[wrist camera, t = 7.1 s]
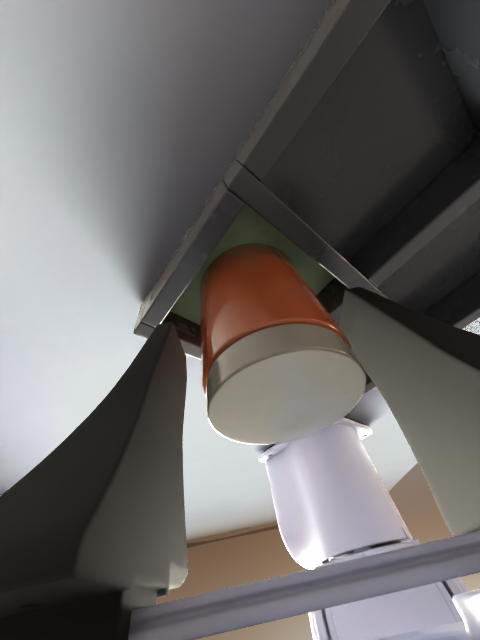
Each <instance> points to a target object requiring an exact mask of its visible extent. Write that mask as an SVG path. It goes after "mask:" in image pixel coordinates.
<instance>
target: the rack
mask: <svg viewBox="0 0 480 640" xmlns="http://www.w3.org/2000/svg"><path fill="white" fill-rule="evenodd" d="M244 244H265V245H269V246H272V247H275V248H277V249H279V250H281V251H282V252H284V253H285V254H286V255H287V256H288V257H289V258H290V259H291V260H292V262H293V263H294V264H295V266H296V267H297V269H298V270H299V271H300V273H301V274H302V276H303V277H304V278H305V280H306V281H307V282H308V284H309V285H310V287H311V288H312V289H313V291H314V292H315V294H316V295H317V296H318V298H319V299H320V300H321V302H322V303H323V305H324V306H325V307H326V309H327V310H328V312H329V313H330V314H331V316H332V317H333V319H334V320H335V321H336V323H337V324H338V325H339V322H340V316H341V311H342V305H343V299H344V294H345V289H350V288H355V287H362V288H365V289H367V290H369V291H372V292H374V293H376V294H378V295H381V296H383V297H385V298H387V299H389V300H392V301H394V302H396V303H398V304H400V305H403V306H405V307H407V308H409V309H412V310H414V311H416V312H418V313H421V314H423V315H426V316H428V317H430V318H433V319H435V320H438V321H441V322H443V323H446V324H448V325H451V326H454V327H456V328H459V329H462V328H464V327H465V326H467V325H468V324H470V323H471V322H473V321H474V320H476V319H477V318H479V317H480V0H333V1H332V3H331V5H330V6H329V8H328V9H327V11H326V13H325V14H324V16H323V17H322V19H321V21H320V22H319V24H318V25H317V27H316V28H315V30H314V32H313V33H312V35H311V36H310V38H309V40H308V41H307V43H306V44H305V46H304V48H303V49H302V51H301V52H300V54H299V55H298V57H297V59H296V60H295V62H294V63H293V65H292V67H291V68H290V70H289V71H288V73H287V75H286V76H285V78H284V79H283V81H282V82H281V84H280V86H279V87H278V89H277V90H276V92H275V94H274V95H273V97H272V98H271V100H270V102H269V103H268V105H267V106H266V108H265V109H264V111H263V113H262V114H261V116H260V117H259V119H258V121H257V122H256V124H255V125H254V127H253V129H252V130H251V132H250V133H249V135H248V136H247V138H246V140H245V141H244V143H243V144H242V146H241V148H240V149H239V151H238V152H237V154H236V156H235V157H234V159H233V160H232V162H231V163H230V165H229V167H228V168H227V170H226V171H225V173H224V175H223V176H222V178H221V179H220V181H219V183H218V184H217V186H216V187H215V189H214V190H213V192H212V194H211V195H210V197H209V198H208V200H207V202H206V203H205V205H204V206H203V208H202V210H201V211H200V213H199V214H198V216H197V218H196V219H195V221H194V222H193V224H192V225H191V227H190V229H189V230H188V232H187V233H186V235H185V237H184V238H183V240H182V241H181V243H180V245H179V246H178V248H177V249H176V251H175V252H174V254H173V256H172V257H171V259H170V260H169V262H168V264H167V265H166V267H165V268H164V270H163V272H162V273H161V275H160V276H159V278H158V279H157V281H156V283H155V284H154V286H153V287H152V289H151V291H150V292H149V294H148V295H147V297H146V299H145V300H144V302H143V303H142V305H141V307H140V311H139V315H138V318H137V322H136V325H135V328H134V334H136V335H139V336H141V337H144V338H146V339H148V338H149V336H150V335H151V333H152V332H153V330H154V329H155V327H156V326H157V324H162V323H168V322H173V324H174V327H175V329H176V332H177V335H178V337H179V340H180V342H181V345H182V348H183V350H184V353H185V354H187V355H190V356H192V357H195V358H197V359H200V360H202V359H201V327H200V295H199V289H200V283H201V279H202V277H203V274H204V272H205V271H206V269H207V267H208V266H209V265H210V264H211V262H212V261H213V260H214V259H216V258H217V257H218V256H219V255H221V254H222V253H223V252H225V251H227V250H229V249H231V248H234V247H236V246H240V245H244ZM364 370H365V369H364ZM365 373H366V387H365V391H364V393H363V394H365V393H366V392H368V391H369V390H371V389H372V388H374V387H375V386H376V385H375V384H374V382H373V381H372V379H371V378H370V377H369V375H368V374H367V372H366V371H365Z"/></svg>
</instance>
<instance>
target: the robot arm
mask: <svg viewBox="0 0 480 640" xmlns="http://www.w3.org/2000/svg"><path fill="white" fill-rule="evenodd" d="M339 327H340V328H341V330H342V331H343V332H344V334H345V335H346V337H347V338H348V340H349V342H350V344H351V348H352V351H353V353H354V354H355V355H356V357H357V358H358V360H359V361H360V362H361V364H362V366H363V368H364V369H365V371H366V372H367V374H368V375H369V377H370V378H371V379H372V381H373V382H374V384H375V385H376V386H377V388H378V389H379V391H380V392H381V394H382V396H383V397H384V399H385V400H386V402H387V404H388V406H389V408H390V409H391V411H392V413H393V415H394V416H395V418H396V420H397V422H398V424H399V426H400V428H401V430H402V432H403V433H404V435H405V437H406V439H407V441H408V443H409V445H410V447H411V449H412V451H413V453H414V455H415V457H416V459H417V462H418V464H419V466H420V468H421V470H422V472H423V474H424V476H425V479H426V481H427V483H428V485H429V488H430V490H431V492H432V494H433V497H434V499H435V501H436V504H437V506H438V508H439V511H440V513H441V516H442V518H443V520H444V522H445V524H446V525H447V527H448V528H449V530H450V532H451V533H452V535H453V536H454V537H450V538H445V539H442V540H437V541H433V542H428V543H424V544H420V542H419V541H418V540H414V541H413V538H412V536H411V535H410V532H409V530H408V528H407V527H406V525H405V523H404V521H403V519H402V517H401V515H400V513H399V512H398V510H397V508H396V506H395V504H394V502H393V500H392V498H391V496H390V494H389V493H388V491H387V489H386V487H385V485H384V483H383V481H382V479H381V477H380V476H379V474H378V472H377V470H376V468H375V466H374V464H373V462H372V460H371V459H370V457H369V455H368V453H367V451H366V449H365V447H364V445H363V443H362V441H361V439H363V438H365V437H367V436H368V435H370V434H372V433H373V430H372V429H371V428H370V427H368V426H365V425H362V424H360V423H357V422H355V421H352V420H349V419H347V418H344V417H343V418H341V419H340V420H339V421H337V422H336V423H334V424H332V425H331V426H329V427H327V428H325V429H323V430H321V431H319V432H317V433H314V434H312V435H309V436H307V437H304V438H300V439H297V440H293V441H289V442H284V443H277V444H275V445H274V446H272V447H271V448H269V449H268V450H266V451H265V452H264V453H262V454H261V455H259V461H261V462H265V464H266V469H267V474H268V479H269V483H270V488H271V493H272V498H273V502H274V507H275V512H276V517H277V521H278V526H279V530H280V533H281V536H282V539H283V541H284V543H285V546H286V548H287V549H288V551H289V553H290V554H291V556H292V557H293V559H294V560H295V561H296V562H297V563H299V564H300V565H302V566H303V567H305V568H308V569H310V570H306V571H301V572H297V573H292V574H288V575H284V576H279V577H275V578H270V579H266V580H262V581H257V582H253V583H248V584H244V585H240V586H235V587H231V588H227V589H222V590H218V591H213V592H209V593H205V594H201V595H196V596H192V597H187V598H183V599H178V600H174V601H170V602H165V603H161V604H157V605H156V598H157V597H162V596H166V595H168V594H169V589H173V588H177V587H180V586H181V585H182V583H183V581H184V579H185V578H186V576H187V574H188V559H187V543H186V529H185V510H184V488H183V451H182V436H183V420H184V408H185V396H186V383H187V369H186V355H185V353H184V350H183V348H182V345H181V342H180V340H179V337H178V335H177V332H176V329H175V327H174V324H173V322H168V323H162V324H157V326H156V327H155V329H154V330H153V332H152V333H151V335H150V336H149V338H148V340H147V341H146V343H145V344H144V346H143V347H142V349H141V350H140V352H139V353H138V355H137V356H136V358H135V359H134V361H133V362H132V364H131V365H130V366H129V368H128V369H127V371H126V372H125V373H124V375H123V376H122V377H121V378H120V380H119V381H118V382H117V384H116V385H115V386H114V388H113V389H112V390H111V391H110V393H109V394H108V395H107V396H106V397H105V398H104V400H103V401H102V402H101V403H100V404H99V405H98V406H97V407H96V409H95V410H94V411H93V412H92V413H91V414H90V415H89V416H88V417H87V418H86V419H85V420H84V421H83V422H82V423H81V424H80V425H79V426H78V427H77V428H76V429H75V430H74V431H73V432H72V433H71V434H70V435H69V436H68V437H67V438H66V439H65V440H64V441H63V442H62V443H61V444H60V445H59V446H58V447H57V448H56V449H55V450H54V451H53V452H51V453H50V454H49V455H48V456H47V457H46V458H45V459H44V460H43V461H42V462H40V463H39V464H38V465H37V466H36V467H35V468H34V469H32V470H31V471H30V472H29V473H28V474H27V475H26V476H24V477H23V478H22V479H21V480H20V481H18V482H17V483H16V484H15V485H14V486H13V487H11V488H10V489H9V490H8V491H6V492H5V493H4V494H3V495H1V496H0V640H194V639H198V638H203V637H207V636H211V635H215V634H219V633H224V632H228V631H233V630H237V629H241V628H245V627H250V626H254V625H258V624H262V623H267V622H271V621H275V620H279V619H284V618H288V617H292V616H296V615H301V614H305V613H309V618H310V624H311V630H312V635H313V640H480V588H479V589H475V590H471V591H470V590H469V589H468V587H467V586H466V584H465V583H464V581H463V580H462V578H461V577H462V576H466V575H471V574H475V573H479V572H480V335H477V334H474V333H471V332H468V331H465V330H462V329H459V328H456V327H454V326H451V325H448V324H446V323H443V322H441V321H438V320H435V319H433V318H430V317H428V316H426V315H423V314H421V313H418V312H416V311H414V310H412V309H409V308H407V307H405V306H403V305H400V304H398V303H396V302H394V301H392V300H389V299H387V298H385V297H383V296H381V295H378V294H376V293H374V292H372V291H369V290H367V289H365V288H362V287H355V288H350V289H345V294H344V299H343V305H342V311H341V316H340V322H339Z"/></svg>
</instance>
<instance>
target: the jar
mask: <svg viewBox="0 0 480 640" xmlns="http://www.w3.org/2000/svg"><path fill="white" fill-rule="evenodd" d="M199 295H200V327H201V359H202V386H203V390H204V393H205V395H206V408H207V417H208V420H209V422H210V424H211V426H212V427H213V429H214V430H215V431H216V432H217V433H219V434H220V435H222V436H223V437H225V438H227V439H230V440H232V441H236V442H239V443H245V444H254V445H266V444H277V443H284V442H289V441H293V440H297V439H300V438H304V437H307V436H309V435H312V434H314V433H317V432H319V431H321V430H323V429H325V428H327V427H329V426H331V425H332V424H334V423H336V422H337V421H339V420H340V419H341V418H343V417H344V416H345V415H346V414H348V413H349V412H350V411H351V410H352V409H353V408H354V407H355V405H356V404H357V403H358V402H359V400H360V399H361V397H362V395H363V393H364V391H365V387H366V373H365V370H364V368H363V366H362V364H361V362H360V361H359V360H358V358H357V357H356V355H355V354H354V353H353V351H352V348H351V344H350V342H349V340H348V338H347V337H346V335H345V334H344V332H343V331H342V330H341V328H340V327H339V325H338V324H337V323H336V321H335V320H334V319H333V317H332V316H331V314H330V313H329V312H328V310H327V309H326V307H325V306H324V305H323V303H322V302H321V300H320V299H319V298H318V296H317V295H316V294H315V292H314V291H313V289H312V288H311V287H310V285H309V284H308V282H307V281H306V280H305V278H304V277H303V276H302V274H301V273H300V271H299V270H298V269H297V267H296V266H295V264H294V263H293V262H292V260H291V259H290V258H289V257H288V256H287V255H286V254H285V253H284V252H282V251H281V250H279V249H277V248H275V247H272V246H269V245H265V244H244V245H240V246H236V247H234V248H231V249H229V250H227V251H225V252H223V253H222V254H221V255H219V256H218V257H217V258H216V259H214V260H213V261H212V262H211V264H210V265H209V266H208V267H207V269H206V271H205V272H204V274H203V277H202V279H201V283H200V289H199Z"/></svg>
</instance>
